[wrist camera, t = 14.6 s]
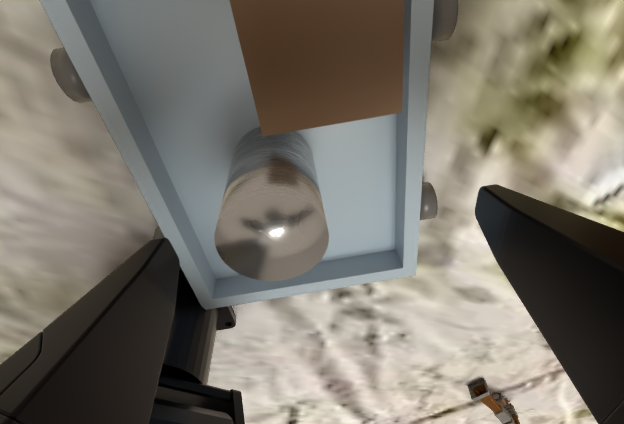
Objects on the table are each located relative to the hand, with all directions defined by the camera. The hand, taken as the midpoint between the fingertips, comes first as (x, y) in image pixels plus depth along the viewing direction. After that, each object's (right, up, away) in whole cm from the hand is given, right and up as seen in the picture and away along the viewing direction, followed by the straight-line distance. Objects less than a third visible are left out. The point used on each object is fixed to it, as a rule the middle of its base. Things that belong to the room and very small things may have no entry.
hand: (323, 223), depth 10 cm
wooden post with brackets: (+19, -18, +25) cm, 36 cm away
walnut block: (-1, +8, +3) cm, 9 cm away
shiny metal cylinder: (-2, +3, +7) cm, 8 cm away
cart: (-2, +4, +7) cm, 8 cm away
